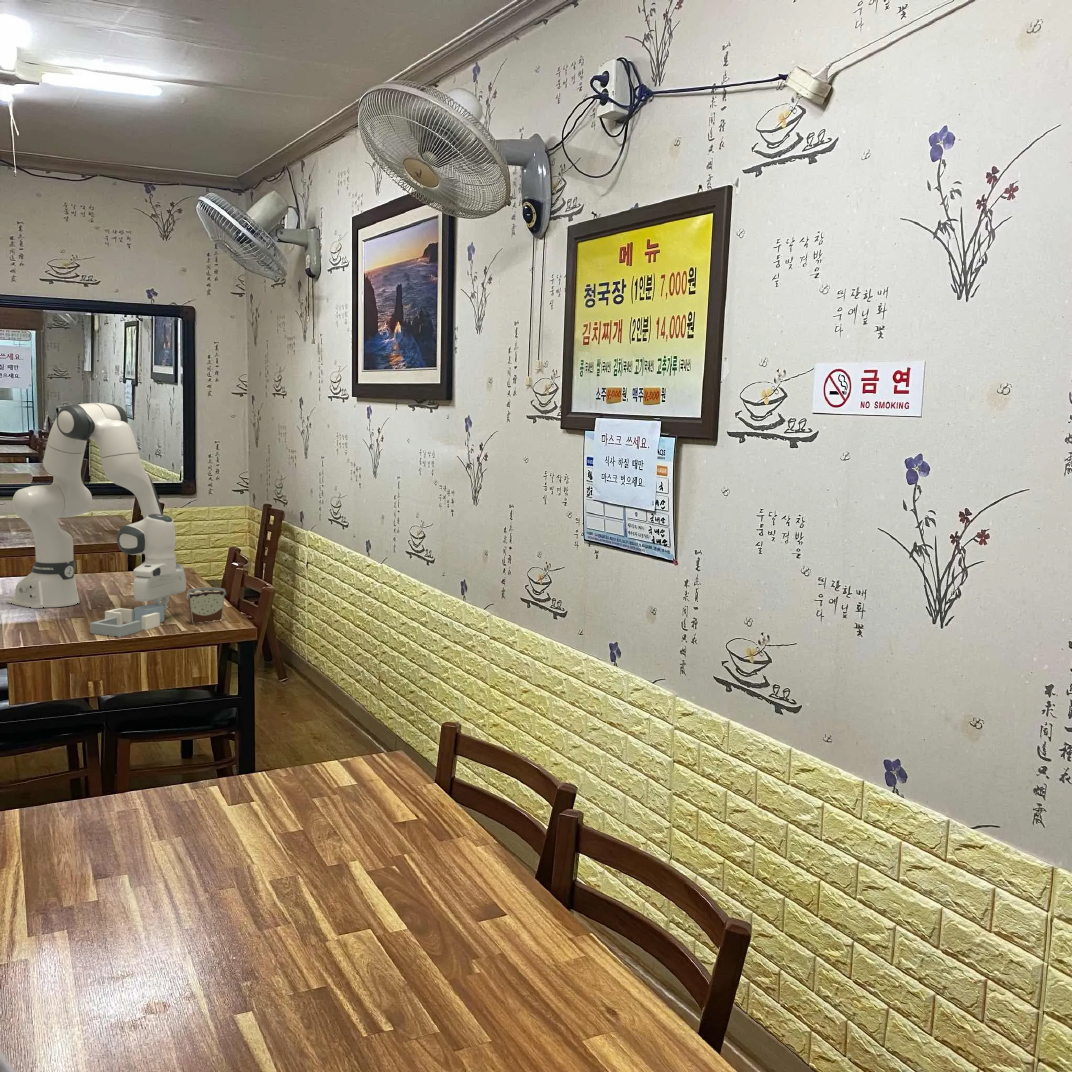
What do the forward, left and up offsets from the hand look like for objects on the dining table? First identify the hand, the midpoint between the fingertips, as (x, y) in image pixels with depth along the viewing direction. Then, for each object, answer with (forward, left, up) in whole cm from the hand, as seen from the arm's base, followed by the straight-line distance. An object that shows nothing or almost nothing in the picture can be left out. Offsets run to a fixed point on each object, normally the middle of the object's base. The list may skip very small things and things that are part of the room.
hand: (161, 611), depth 301 cm
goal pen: (0, -18, -3) cm, 18 cm away
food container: (+12, +5, -3) cm, 13 cm away
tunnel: (-2, -10, -3) cm, 11 cm away
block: (0, -5, -3) cm, 6 cm away
